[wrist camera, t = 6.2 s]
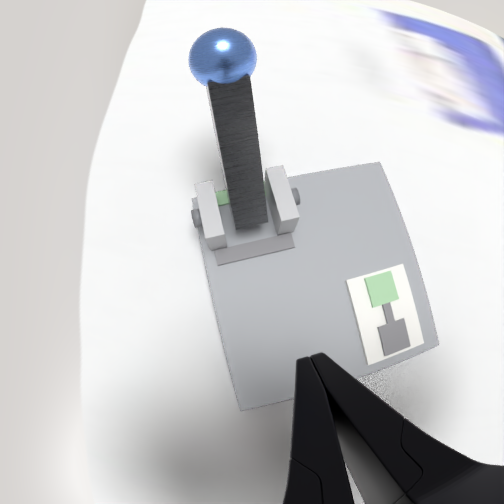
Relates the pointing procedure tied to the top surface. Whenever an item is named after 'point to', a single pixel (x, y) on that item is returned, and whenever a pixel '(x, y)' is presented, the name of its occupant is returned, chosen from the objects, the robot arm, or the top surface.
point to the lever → (233, 118)
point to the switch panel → (313, 279)
